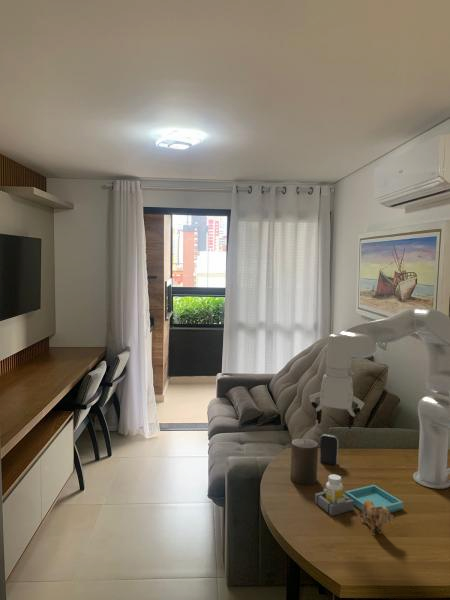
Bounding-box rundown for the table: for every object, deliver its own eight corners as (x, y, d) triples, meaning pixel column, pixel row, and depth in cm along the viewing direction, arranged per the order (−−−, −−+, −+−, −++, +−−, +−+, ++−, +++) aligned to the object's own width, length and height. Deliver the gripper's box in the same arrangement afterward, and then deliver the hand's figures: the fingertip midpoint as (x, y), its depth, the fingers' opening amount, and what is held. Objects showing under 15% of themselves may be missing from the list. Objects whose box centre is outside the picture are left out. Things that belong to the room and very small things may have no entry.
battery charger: (339, 462, 180) (340, 434, 179) (336, 466, 177) (337, 438, 176) (322, 458, 183) (322, 431, 183) (319, 462, 180) (320, 434, 179)
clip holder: (335, 497, 152) (336, 485, 152) (353, 509, 144) (354, 497, 144) (314, 502, 148) (315, 490, 148) (331, 515, 140) (332, 502, 140)
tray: (373, 491, 157) (374, 484, 157) (402, 509, 145) (403, 502, 145) (344, 498, 151) (344, 491, 151) (372, 517, 139) (372, 510, 139)
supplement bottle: (343, 504, 148) (344, 475, 147) (340, 512, 143) (341, 482, 142) (327, 500, 150) (328, 472, 149) (323, 508, 145) (324, 478, 144)
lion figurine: (394, 540, 128) (396, 509, 128) (378, 542, 127) (379, 512, 126) (366, 513, 142) (367, 485, 142) (351, 515, 141) (352, 487, 140)
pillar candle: (311, 487, 158) (313, 446, 158) (286, 480, 163) (287, 440, 163) (320, 477, 167) (321, 438, 166) (295, 471, 172) (297, 432, 171)
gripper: (366, 373, 144) (362, 425, 145) (312, 367, 150) (309, 417, 151) (365, 377, 137) (362, 432, 138) (308, 371, 143) (305, 424, 143)
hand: (334, 424), depth 144 cm, fingers open, 9 cm apart
